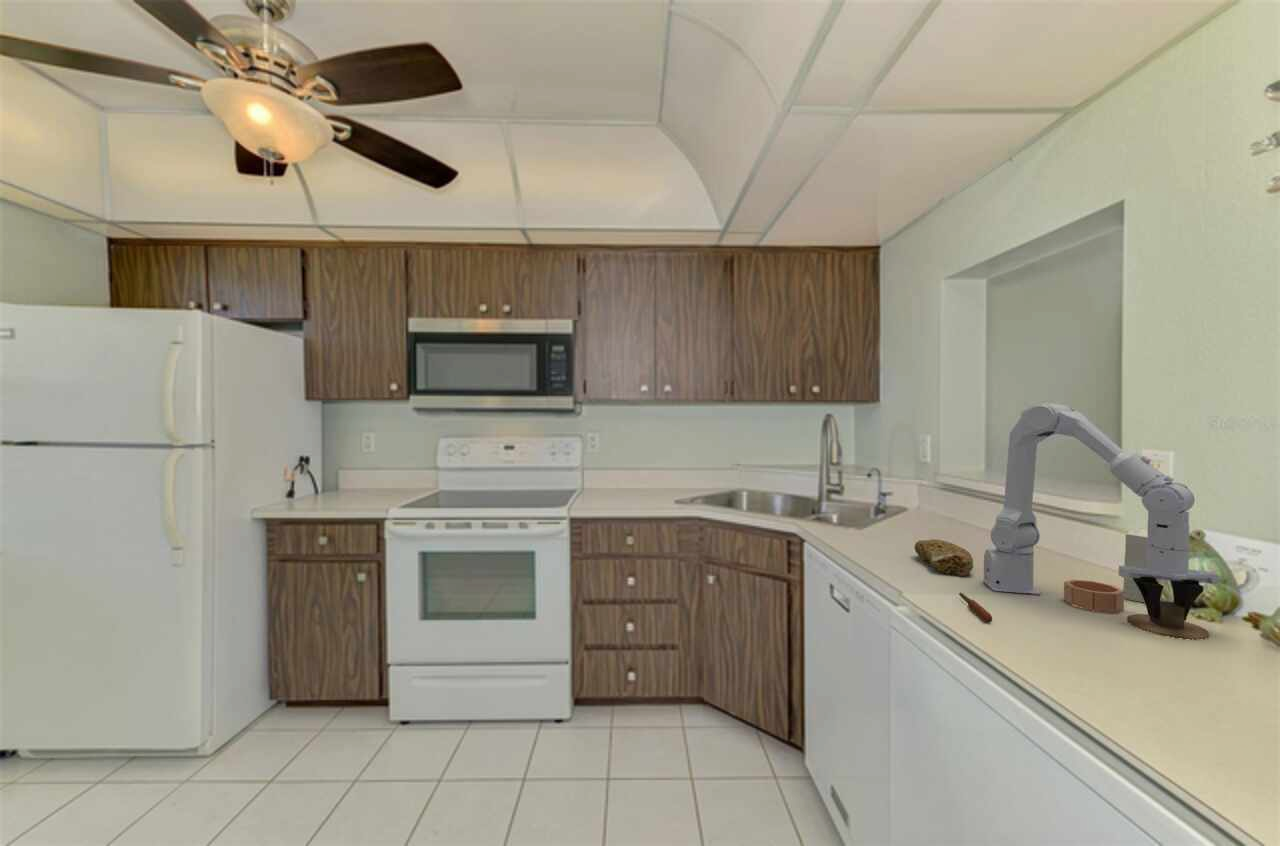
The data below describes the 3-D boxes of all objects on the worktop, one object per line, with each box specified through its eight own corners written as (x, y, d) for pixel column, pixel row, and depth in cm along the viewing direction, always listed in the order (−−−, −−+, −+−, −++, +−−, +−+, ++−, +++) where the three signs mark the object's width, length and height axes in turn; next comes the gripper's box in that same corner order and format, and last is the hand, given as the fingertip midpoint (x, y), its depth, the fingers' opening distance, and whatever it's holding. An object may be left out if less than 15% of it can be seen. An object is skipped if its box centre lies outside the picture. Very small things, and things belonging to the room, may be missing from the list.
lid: (1148, 636, 100) (1149, 610, 100) (1114, 615, 111) (1115, 592, 111) (1225, 644, 97) (1225, 617, 97) (1183, 621, 108) (1183, 597, 108)
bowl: (1078, 610, 114) (1078, 591, 114) (1058, 596, 122) (1058, 578, 122) (1131, 614, 111) (1131, 595, 111) (1107, 600, 120) (1107, 582, 120)
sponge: (979, 584, 136) (967, 549, 154) (973, 554, 135) (962, 523, 153) (920, 586, 142) (915, 553, 159) (915, 558, 141) (910, 528, 158)
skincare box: (1130, 591, 126) (1131, 527, 126) (1166, 598, 121) (1167, 531, 121) (1122, 599, 120) (1123, 532, 120) (1159, 607, 116) (1160, 537, 116)
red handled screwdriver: (992, 624, 106) (992, 614, 106) (984, 624, 106) (985, 614, 106) (962, 598, 121) (962, 589, 121) (955, 598, 121) (955, 589, 121)
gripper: (1133, 549, 102) (1132, 621, 102) (1231, 554, 98) (1230, 629, 98) (1113, 540, 109) (1112, 608, 109) (1203, 545, 105) (1202, 616, 105)
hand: (1166, 617), depth 104 cm, fingers closed on lid, 3 cm apart
